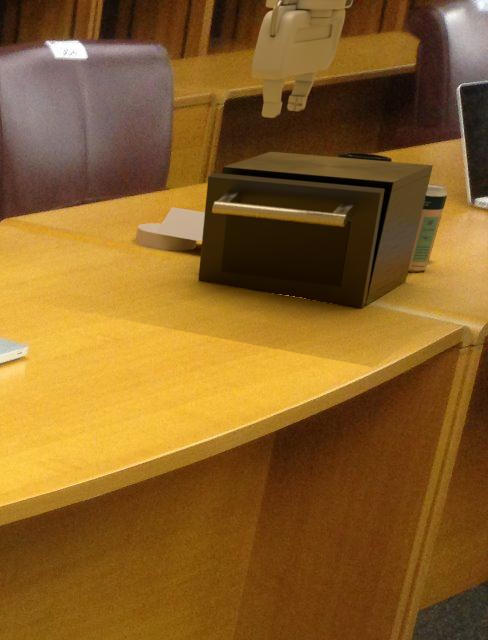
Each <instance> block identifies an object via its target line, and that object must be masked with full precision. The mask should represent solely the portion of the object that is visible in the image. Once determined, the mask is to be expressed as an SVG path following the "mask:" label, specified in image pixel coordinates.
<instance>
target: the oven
mask: <svg viewBox="0 0 488 640" xmlns="http://www.w3.org/2000/svg"><path fill="white" fill-rule="evenodd" d="M433 166H434V165H433V164H424V163H411V162H399V161H391V162H388V161H376V160H364V159H352V158H340V157H338V156H327V155H316V154H315V155H314V154H302V153H293V152H280V151H279V152H278V151H269V152H265V153H262V154H260V155H259V154H258V155H256V156H253V157H249V158H247V159H246V158H245V159H243V160H240V161H238V162H237V161H236V162H234V163H231V164H228V165H225V166H222V171H221V174H232V175H243V176H254V177H264V178H275V179H286V180H296V181H307V182H318V183H329V184H339V185H350V186H361V187H372V188H382V189H385V190H384V196H383V202H382V208H381V214H380V220H379V226H378V232H377V238H376V244H375V250H374V256H373V262H372V268H371V274H370V280H369V286H368V292H367V298H366V304H365V305H364V306H367V305H369V304H372V302H374V301H376V300H377V299H379V298H380V297H383V296H384V295H387V294H388V293H389V292H391V291H393V290H394V289H395V288H397V287H399V286H401V285H403V284H404V283H406V282H407V278H408V273H409V272H408V270H409V265H410V261H411V257H412V252H413V248H414V244H415V240H416V235H417V231H418V227H419V223H420V218H421V214H422V210H423V206H424V201H425V197H426V193H427V188H428V184H430V179H431V176H432V175H431V174H432V171H433ZM364 306H363V307H364Z"/></svg>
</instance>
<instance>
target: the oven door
mask: <svg viewBox="0 0 488 640" xmlns="http://www.w3.org/2000/svg"><path fill="white" fill-rule="evenodd" d="M206 187H207V188H206V197H205V207H204V212H205V217H204V227H203V237H202V241H201V247H200V260H199V270H198V278H197V279H198V282H202V283H207V284H212V285H218V286H224V287H232V288H237V289H243V290H249V291H253V292H260V293H265V292H267V293H266V294H271V293H274V294H273V295H277V294H282V295H281V296H283V295H289V296H295V297H302V298H306V299H310V300H309V301H312V300H316V301H315V302H317V301H320V302H319V303H323V302H326V303H325V304H329V303H332V304H331V305H335V304H337V305H336V306H342V307H350V308H358V309H363V307H364V305H365V304H366V298H367V292H368V286H369V280H370V274H371V268H372V262H373V256H374V250H375V244H376V238H377V232H378V226H379V220H380V214H381V208H382V202H383V196H384V190H385V189H382V188H372V187H361V186H350V185H339V184H329V183H318V182H307V181H296V180H286V179H275V178H264V177H254V176H243V175H232V174H222V172H221V173H219V172H212V173H211V174H209V175H208V176H207V185H206ZM306 299H305V300H306Z"/></svg>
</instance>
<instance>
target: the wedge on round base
mask: <svg viewBox="0 0 488 640" xmlns="http://www.w3.org/2000/svg"><path fill="white" fill-rule="evenodd" d="M204 217H205V211H198V210H193V209H186V208H180V207H174V206H172V207H171V208H170V210H169V212H168V213H167V215H166V216H165V218H164V219H163V220H162V222H159V223H157V222H153V223H152V222H151V223H149V222H148V223H142V224H139V225H137V228H136V234H135V240H134V242H135V244H137V245H138V246H140V247H146V248H149V249H155V250H162V251H189V250H194V249H195V248H196V246H197V242H202V237H203V227H204Z"/></svg>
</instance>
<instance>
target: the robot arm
mask: <svg viewBox="0 0 488 640" xmlns="http://www.w3.org/2000/svg"><path fill="white" fill-rule="evenodd" d="M353 3H354V0H265V7H266V8H270V9H272V10H270V11H268V12H267V13H266V14H265V15H264V17H263V20H262V22H261V25H260V30H259V33H258V36H257V39H256V40H257V41H256V45H255V49H254V53H253V58H252V61H251V76H252V78H253V79H259V80H263V83H262V99H263V104H262V110H261V116H262V117H263V118H269V119H274V118H278V117H279V116H280V115H281V111H282V106H283V101H282V93H283V89H284V88H285V85H286V79H289V78H293V80H294V84H293V87H292V91H291V94H290V95H289V96H288V99H287V100H288V101H287V104H286V109H287V111H289V112H302V111H304V109H305V108H306V105H307V101H308V96H309V94H310V92H311V90H312V87H313V85H314V83H315V80H316V75H317V73H318V72H323V71H327V70H329V69H330V67H331V65H332V63H333V61H334V58H335V56H336V52H337V49H338V45H339V42H340V38H341V36H342V35H341V34H342V30H343V28H344V23H345V19H346V9H348V8H349V9H350V8H351V7H352V5H353Z"/></svg>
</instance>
